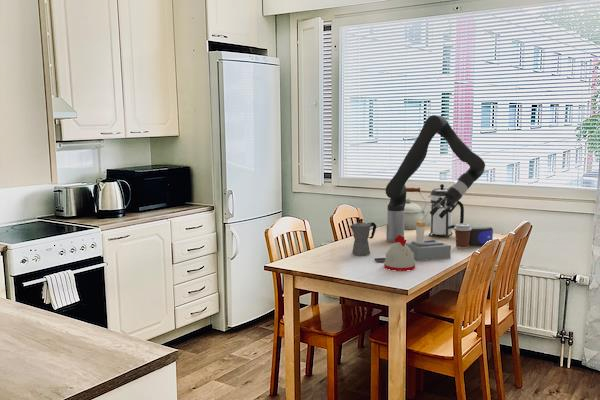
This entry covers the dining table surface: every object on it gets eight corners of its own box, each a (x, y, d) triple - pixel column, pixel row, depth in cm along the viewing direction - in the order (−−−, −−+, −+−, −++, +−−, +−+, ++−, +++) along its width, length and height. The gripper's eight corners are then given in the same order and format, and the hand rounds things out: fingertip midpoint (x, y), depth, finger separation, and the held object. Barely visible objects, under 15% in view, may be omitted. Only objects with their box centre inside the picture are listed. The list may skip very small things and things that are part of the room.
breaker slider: (420, 242, 285) (421, 221, 283) (426, 245, 280) (426, 222, 278) (413, 243, 284) (413, 221, 282) (419, 245, 278) (419, 223, 277)
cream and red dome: (395, 272, 254) (395, 239, 252) (378, 265, 266) (379, 234, 264) (421, 269, 259) (421, 236, 257) (404, 262, 272) (404, 231, 270)
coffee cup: (456, 244, 308) (457, 222, 306) (473, 246, 303) (474, 224, 301) (450, 247, 301) (451, 225, 299) (467, 249, 295) (468, 227, 294)
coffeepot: (354, 257, 282) (354, 221, 280) (345, 253, 291) (345, 218, 288) (381, 254, 289) (381, 218, 286) (371, 250, 297) (371, 216, 295)
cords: (376, 262, 272) (376, 260, 271) (374, 260, 276) (374, 258, 275) (410, 261, 274) (410, 258, 274) (407, 258, 278) (407, 256, 278)
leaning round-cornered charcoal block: (465, 246, 303) (466, 229, 302) (462, 244, 307) (462, 227, 306) (495, 245, 305) (495, 228, 303) (491, 243, 309) (492, 226, 308)
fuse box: (435, 251, 293) (435, 238, 292) (450, 257, 280) (451, 243, 279) (403, 254, 288) (404, 240, 287) (417, 260, 274) (418, 246, 273)
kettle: (389, 229, 351) (390, 189, 348) (390, 224, 369) (390, 185, 366) (431, 230, 347) (432, 189, 344) (429, 224, 365) (430, 186, 362)
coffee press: (435, 239, 322) (437, 186, 317) (423, 233, 337) (424, 183, 333) (463, 237, 326) (465, 185, 321) (450, 232, 341) (451, 182, 337)
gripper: (444, 184, 290) (423, 208, 288) (460, 188, 276) (438, 212, 274) (452, 194, 292) (432, 218, 290) (469, 198, 278) (448, 223, 277)
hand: (435, 215), depth 282 cm, fingers open, 8 cm apart
